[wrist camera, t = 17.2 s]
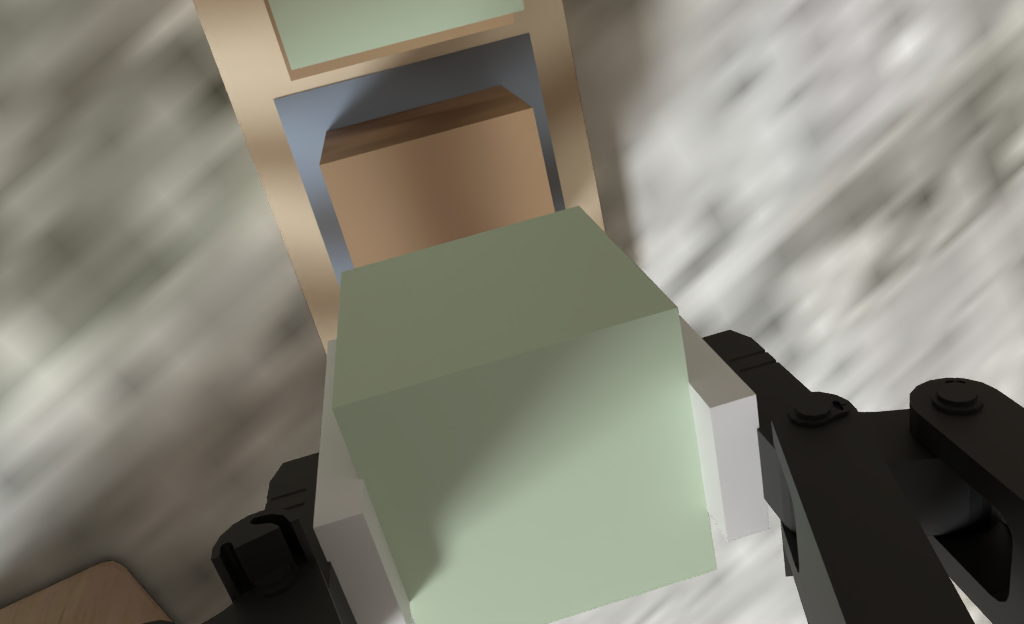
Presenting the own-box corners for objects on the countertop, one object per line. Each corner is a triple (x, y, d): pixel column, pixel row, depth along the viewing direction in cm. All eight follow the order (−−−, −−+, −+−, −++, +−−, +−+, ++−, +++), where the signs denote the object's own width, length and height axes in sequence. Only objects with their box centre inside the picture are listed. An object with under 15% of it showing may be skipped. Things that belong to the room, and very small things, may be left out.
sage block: (410, 470, 19) (429, 661, 14) (341, 272, 17) (331, 408, 12) (618, 407, 20) (717, 569, 14) (578, 205, 17) (677, 307, 12)
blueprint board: (145, -156, 27) (129, -166, 25) (504, -240, 28) (514, -256, 26) (344, 378, 36) (343, 400, 34) (608, 301, 37) (621, 318, 35)
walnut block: (379, 293, 32) (384, 356, 27) (326, 131, 30) (318, 165, 24) (538, 248, 33) (574, 301, 28) (500, 84, 30) (532, 107, 25)
